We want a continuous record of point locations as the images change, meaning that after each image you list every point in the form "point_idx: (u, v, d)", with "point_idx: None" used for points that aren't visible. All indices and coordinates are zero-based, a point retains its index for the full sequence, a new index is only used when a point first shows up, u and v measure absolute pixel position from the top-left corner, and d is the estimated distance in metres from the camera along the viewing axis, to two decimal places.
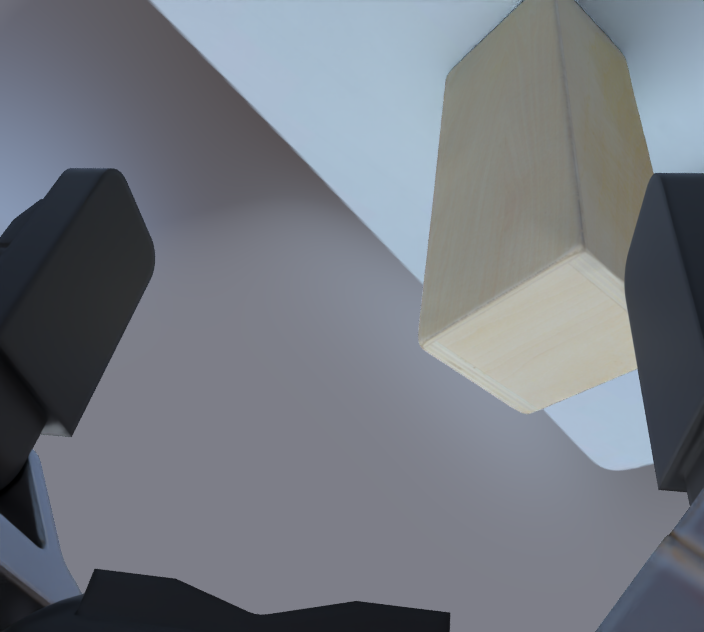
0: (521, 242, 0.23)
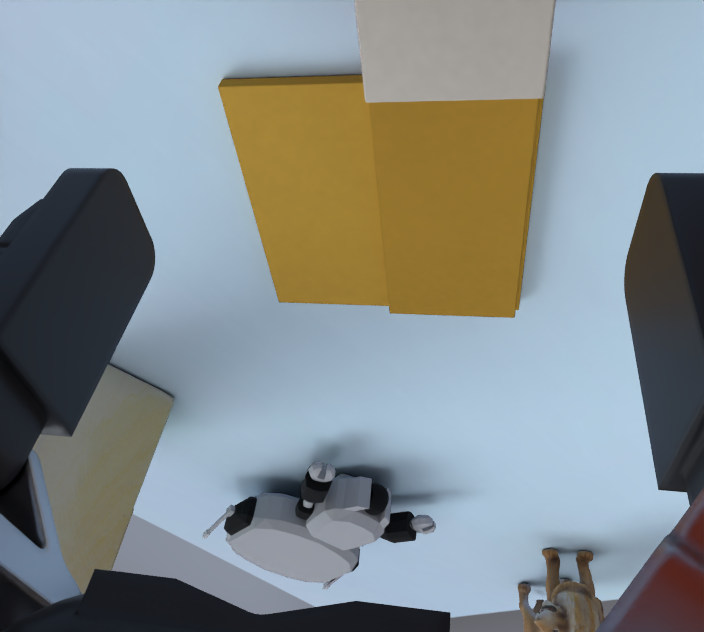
0: None
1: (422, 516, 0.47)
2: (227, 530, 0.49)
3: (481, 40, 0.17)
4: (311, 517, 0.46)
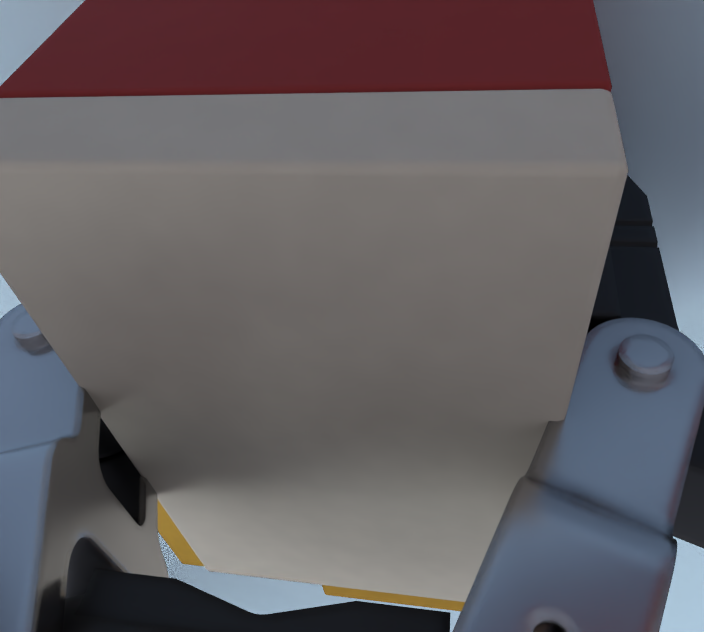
0: None
1: None
2: None
3: (396, 551, 0.09)
4: None
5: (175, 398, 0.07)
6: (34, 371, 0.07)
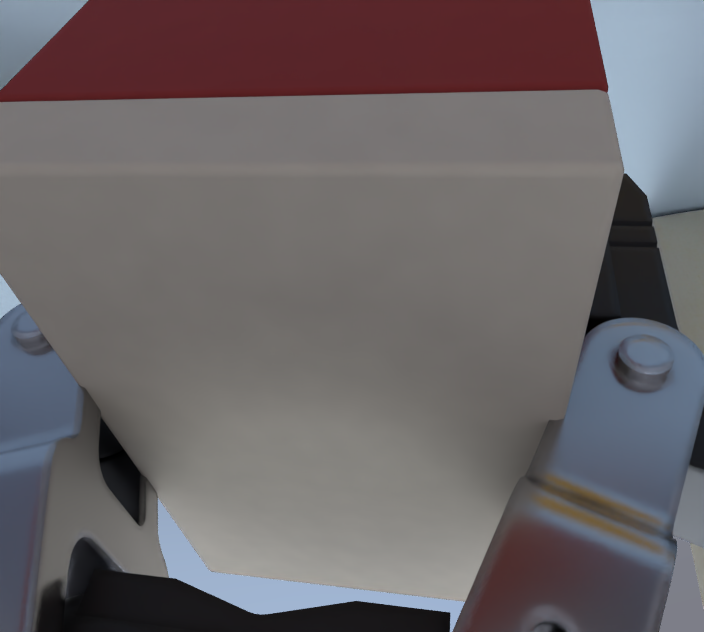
0: None
1: None
2: None
3: (397, 551, 0.09)
4: None
5: (176, 399, 0.07)
6: (33, 372, 0.07)
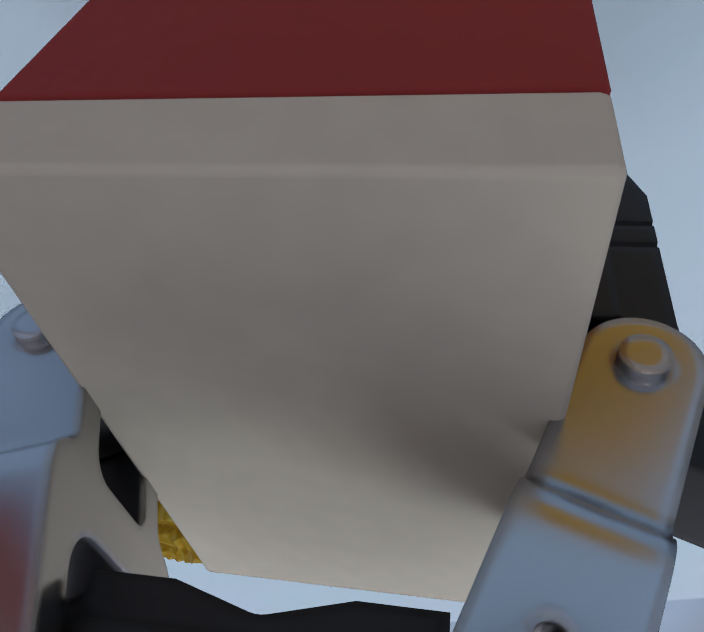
0: None
1: None
2: None
3: (396, 552, 0.09)
4: None
5: (176, 399, 0.07)
6: (33, 371, 0.07)
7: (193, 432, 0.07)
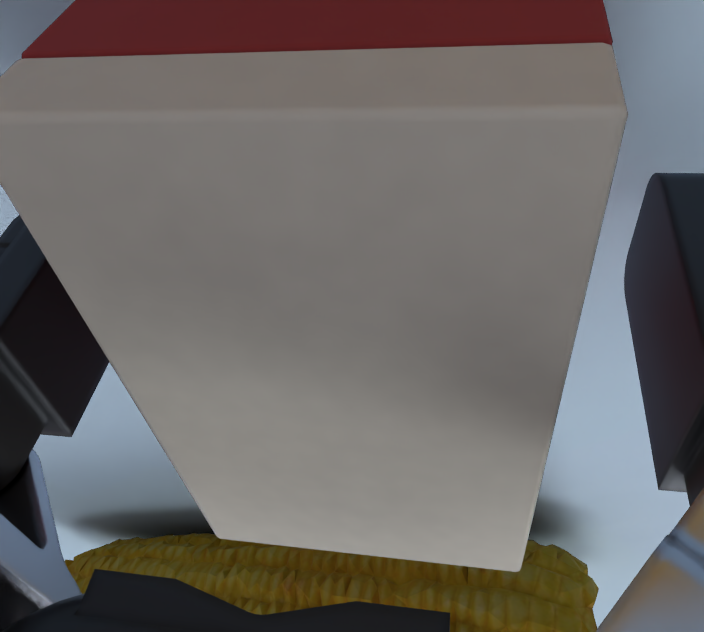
0: None
1: None
2: None
3: (403, 513, 0.09)
4: None
5: (191, 354, 0.07)
6: None
7: (207, 389, 0.07)
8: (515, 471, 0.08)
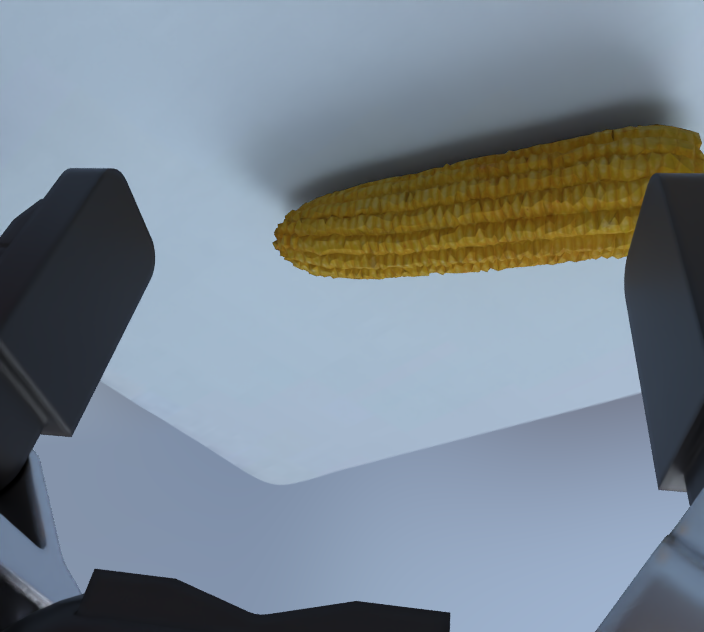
0: None
1: None
2: None
3: None
4: None
5: None
6: None
7: None
8: None
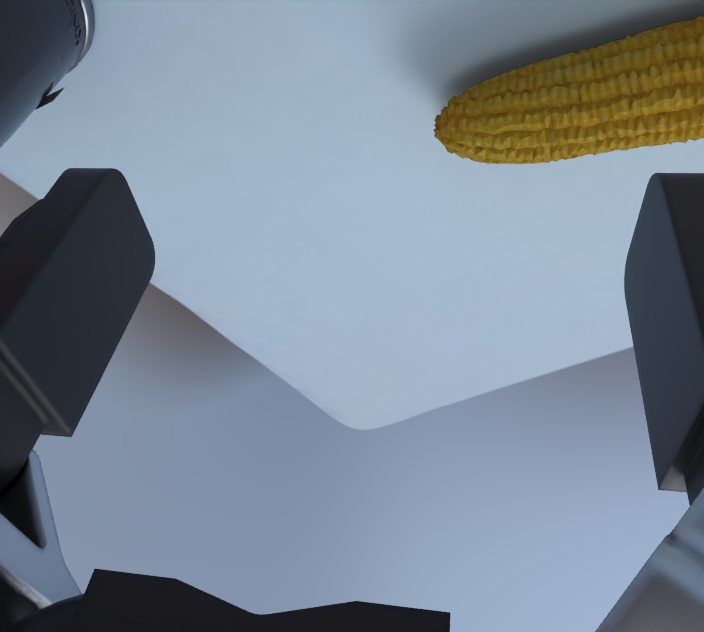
0: None
1: None
2: None
3: None
4: None
5: None
6: None
7: None
8: None
